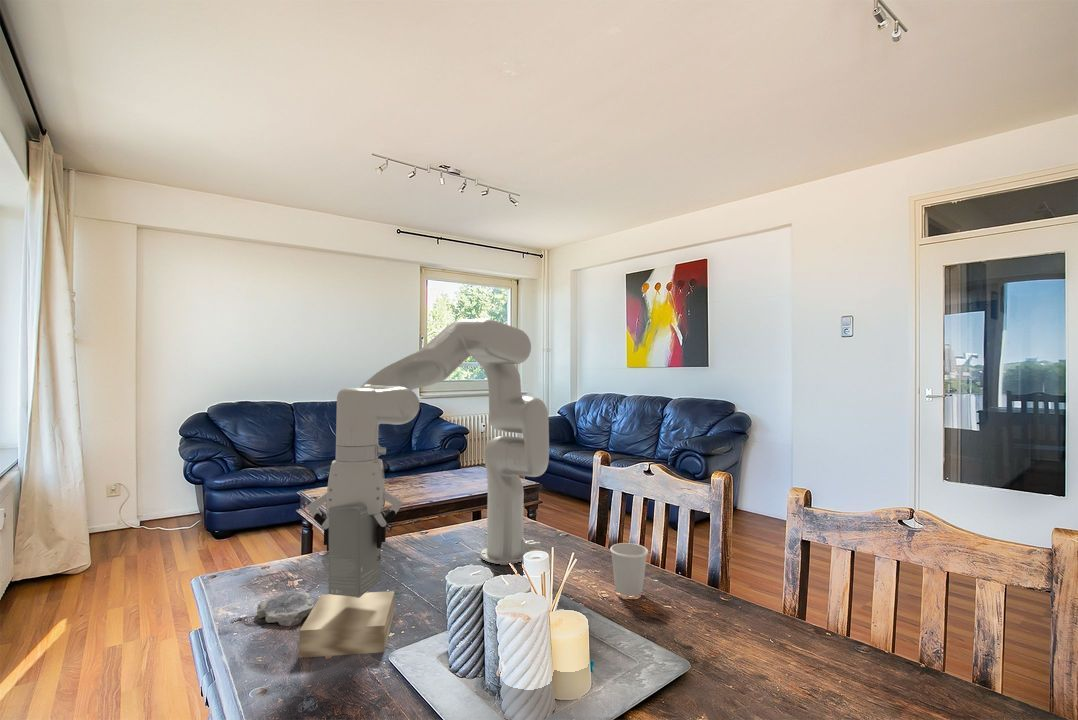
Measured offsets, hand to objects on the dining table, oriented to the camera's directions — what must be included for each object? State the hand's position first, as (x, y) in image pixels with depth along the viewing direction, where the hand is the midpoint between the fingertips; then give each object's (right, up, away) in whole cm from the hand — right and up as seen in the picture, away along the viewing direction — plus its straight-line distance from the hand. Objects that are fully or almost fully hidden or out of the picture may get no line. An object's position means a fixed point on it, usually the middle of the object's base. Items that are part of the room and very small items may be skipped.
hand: (355, 546), depth 97 cm
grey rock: (-16, -16, +7) cm, 24 cm away
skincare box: (0, -8, 0) cm, 8 cm away
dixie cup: (+54, -17, +18) cm, 60 cm away
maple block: (-1, -16, -1) cm, 16 cm away
